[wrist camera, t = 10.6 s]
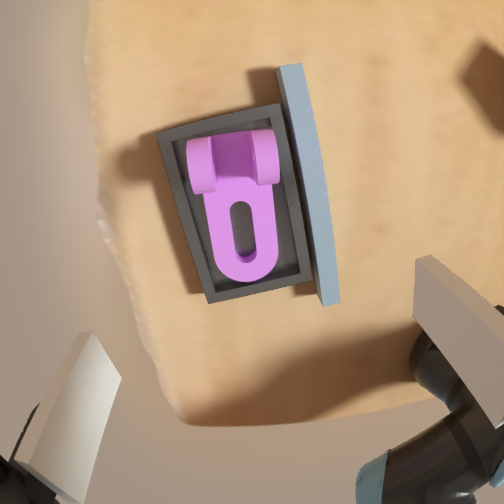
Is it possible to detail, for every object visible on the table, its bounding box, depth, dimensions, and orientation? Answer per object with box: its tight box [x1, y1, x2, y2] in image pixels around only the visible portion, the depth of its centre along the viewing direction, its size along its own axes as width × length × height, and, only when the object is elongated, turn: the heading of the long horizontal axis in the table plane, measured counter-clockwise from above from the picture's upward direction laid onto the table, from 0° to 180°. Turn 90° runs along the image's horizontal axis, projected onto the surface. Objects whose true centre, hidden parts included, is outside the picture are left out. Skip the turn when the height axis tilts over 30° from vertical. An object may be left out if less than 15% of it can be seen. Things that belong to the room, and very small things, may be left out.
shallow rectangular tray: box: [156, 103, 312, 304], centre depth 26 cm, size 16×10×2 cm, turn 13°
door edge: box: [275, 63, 340, 307], centre depth 26 cm, size 22×2×2 cm, turn 13°
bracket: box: [186, 129, 280, 282], centre depth 23 cm, size 13×6×7 cm, turn 7°
